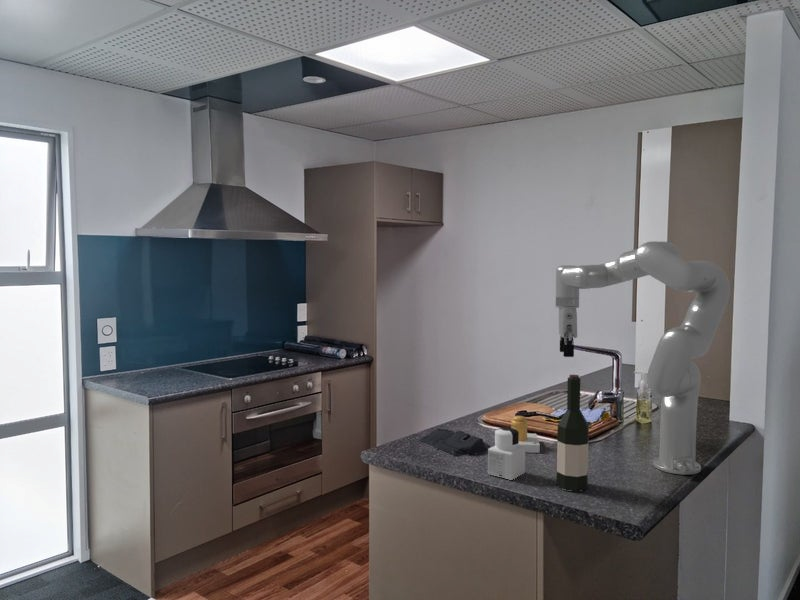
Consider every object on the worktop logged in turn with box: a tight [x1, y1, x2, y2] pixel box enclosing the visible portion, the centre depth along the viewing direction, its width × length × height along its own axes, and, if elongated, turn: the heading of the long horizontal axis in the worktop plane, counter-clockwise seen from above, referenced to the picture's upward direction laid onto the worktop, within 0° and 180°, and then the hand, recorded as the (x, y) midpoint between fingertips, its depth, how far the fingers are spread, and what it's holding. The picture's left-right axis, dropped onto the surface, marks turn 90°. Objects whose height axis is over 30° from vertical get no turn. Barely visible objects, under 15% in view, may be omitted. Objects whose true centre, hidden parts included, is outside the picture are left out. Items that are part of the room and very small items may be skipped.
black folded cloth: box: [418, 428, 492, 457], centre depth 202 cm, size 15×22×5 cm
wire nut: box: [510, 415, 528, 441], centre depth 200 cm, size 5×5×7 cm
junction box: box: [518, 432, 541, 454], centre depth 203 cm, size 18×12×6 cm, turn 173°
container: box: [487, 427, 526, 481], centre depth 175 cm, size 8×8×13 cm
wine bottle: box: [556, 374, 590, 491], centre depth 165 cm, size 8×8×30 cm
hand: (566, 354), depth 207 cm, fingers open, 9 cm apart
